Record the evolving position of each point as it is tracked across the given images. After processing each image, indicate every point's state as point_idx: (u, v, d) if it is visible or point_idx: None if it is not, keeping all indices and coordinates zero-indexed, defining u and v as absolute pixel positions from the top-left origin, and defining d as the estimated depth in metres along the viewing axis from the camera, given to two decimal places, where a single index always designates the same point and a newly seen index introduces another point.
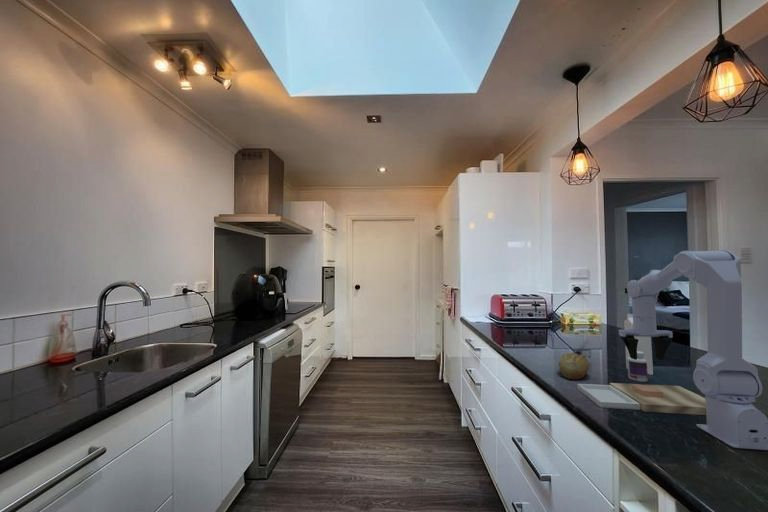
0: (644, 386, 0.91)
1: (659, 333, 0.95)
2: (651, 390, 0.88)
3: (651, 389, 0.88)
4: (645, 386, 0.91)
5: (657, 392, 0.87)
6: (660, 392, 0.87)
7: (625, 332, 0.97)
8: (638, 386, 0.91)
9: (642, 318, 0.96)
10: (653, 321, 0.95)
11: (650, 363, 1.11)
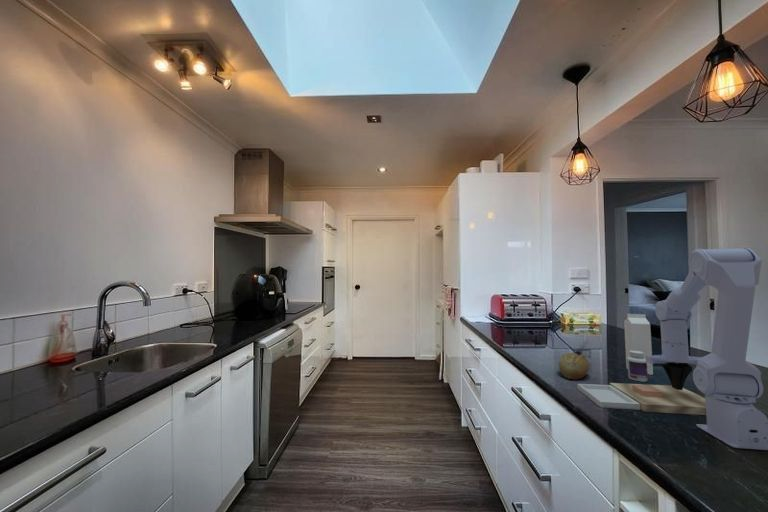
0: (644, 386, 0.91)
1: (692, 361, 0.86)
2: (651, 390, 0.88)
3: (651, 389, 0.88)
4: (645, 386, 0.91)
5: (657, 392, 0.87)
6: (660, 392, 0.87)
7: (653, 359, 0.89)
8: (638, 386, 0.91)
9: (673, 344, 0.87)
10: (685, 348, 0.86)
11: None
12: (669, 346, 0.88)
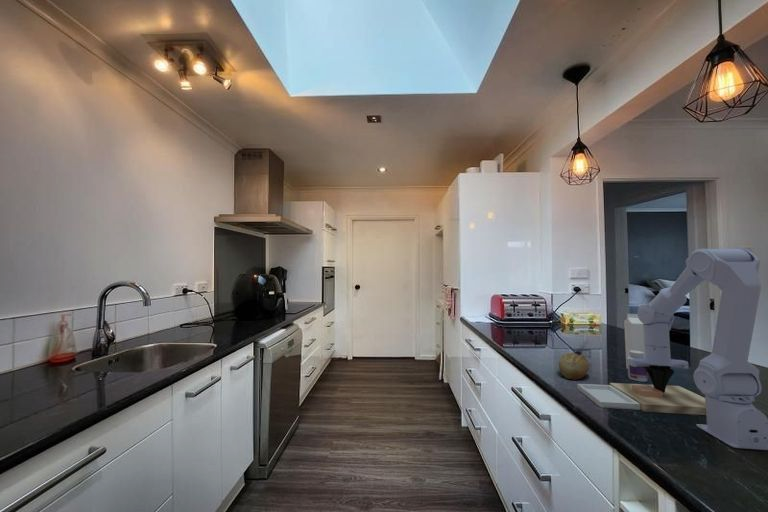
0: (643, 386, 0.91)
1: (674, 364, 0.87)
2: (651, 390, 0.88)
3: (651, 389, 0.88)
4: (644, 386, 0.91)
5: (657, 392, 0.87)
6: (660, 392, 0.87)
7: (636, 362, 0.89)
8: (638, 386, 0.91)
9: (655, 347, 0.88)
10: (667, 351, 0.87)
11: None
12: (651, 349, 0.88)
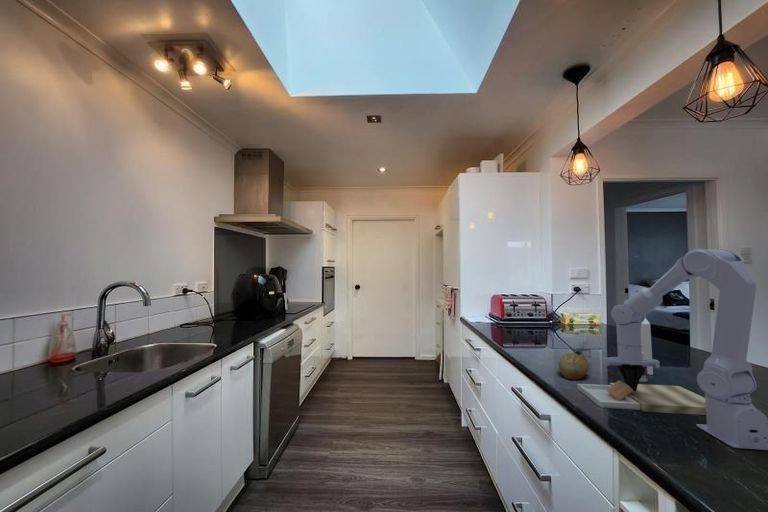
0: (614, 386, 0.92)
1: (645, 363, 0.88)
2: (620, 389, 0.89)
3: (620, 387, 0.90)
4: (615, 385, 0.92)
5: (626, 389, 0.88)
6: (628, 387, 0.88)
7: (608, 361, 0.91)
8: (610, 389, 0.92)
9: (626, 346, 0.89)
10: (638, 350, 0.88)
11: None
12: (623, 348, 0.90)
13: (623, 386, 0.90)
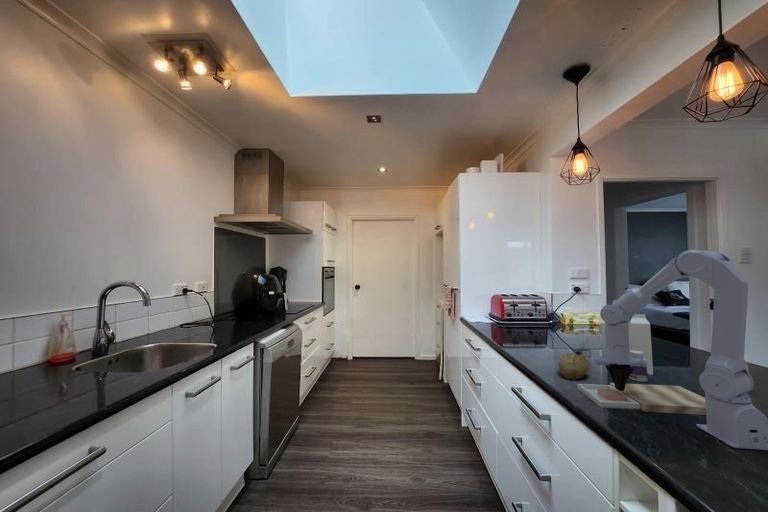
0: (608, 390, 0.92)
1: (632, 362, 0.88)
2: (614, 394, 0.89)
3: (614, 393, 0.90)
4: (609, 390, 0.92)
5: (619, 396, 0.88)
6: (622, 396, 0.88)
7: (597, 360, 0.91)
8: (602, 390, 0.92)
9: (614, 346, 0.89)
10: (626, 350, 0.88)
11: (650, 363, 1.11)
12: (611, 348, 0.90)
13: (618, 393, 0.90)
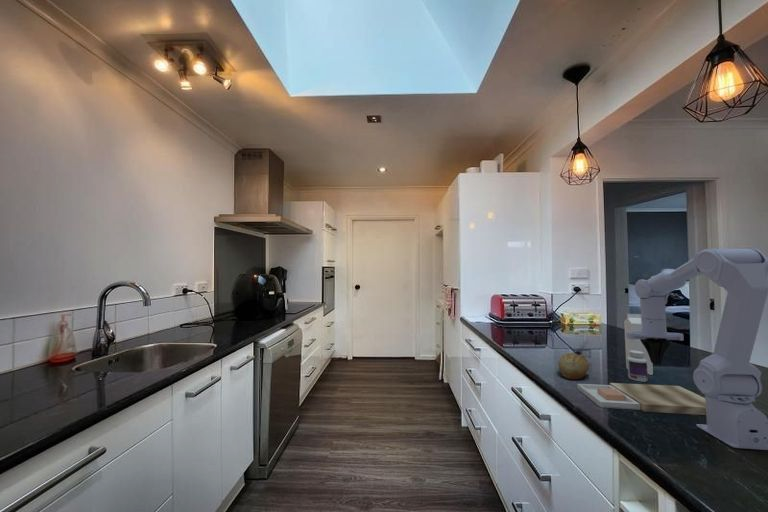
0: (608, 390, 0.92)
1: (669, 336, 0.89)
2: (614, 394, 0.89)
3: (614, 393, 0.90)
4: (609, 390, 0.92)
5: (619, 396, 0.88)
6: (622, 396, 0.88)
7: (633, 335, 0.92)
8: (602, 390, 0.92)
9: (651, 320, 0.90)
10: (663, 323, 0.89)
11: (650, 363, 1.11)
12: (648, 322, 0.91)
13: (618, 393, 0.90)
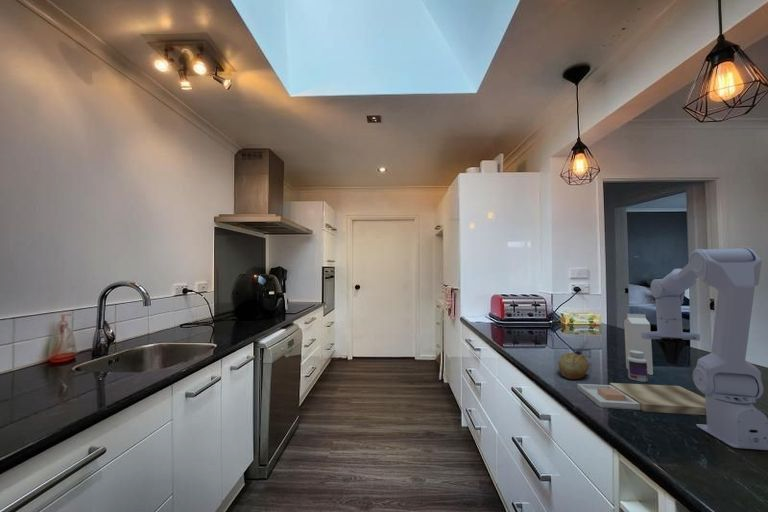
0: (608, 390, 0.92)
1: (686, 336, 0.89)
2: (614, 394, 0.89)
3: (614, 393, 0.90)
4: (609, 390, 0.92)
5: (619, 396, 0.88)
6: (622, 396, 0.88)
7: (649, 334, 0.92)
8: (602, 390, 0.92)
9: (667, 320, 0.90)
10: (679, 323, 0.89)
11: (650, 363, 1.11)
12: (664, 322, 0.91)
13: (618, 393, 0.90)
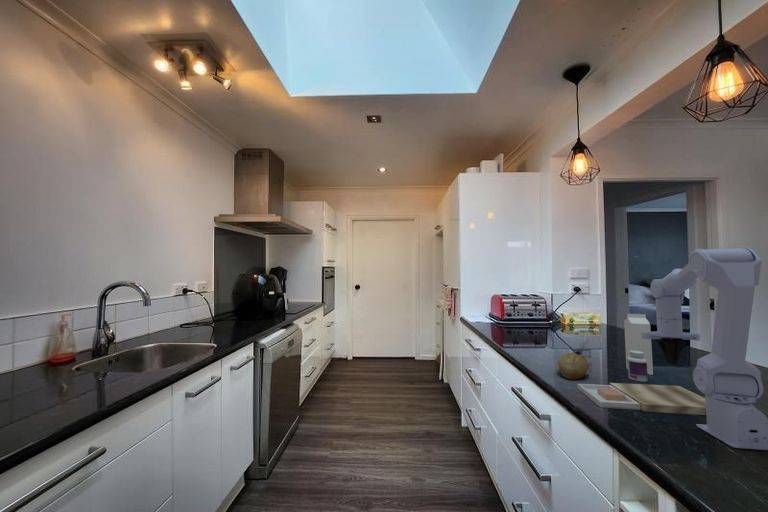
0: (608, 390, 0.92)
1: (686, 336, 0.89)
2: (614, 394, 0.89)
3: (614, 393, 0.90)
4: (609, 390, 0.92)
5: (619, 396, 0.88)
6: (622, 396, 0.88)
7: (649, 334, 0.92)
8: (602, 390, 0.92)
9: (667, 320, 0.90)
10: (679, 323, 0.89)
11: (650, 363, 1.11)
12: (664, 322, 0.91)
13: (618, 393, 0.90)
